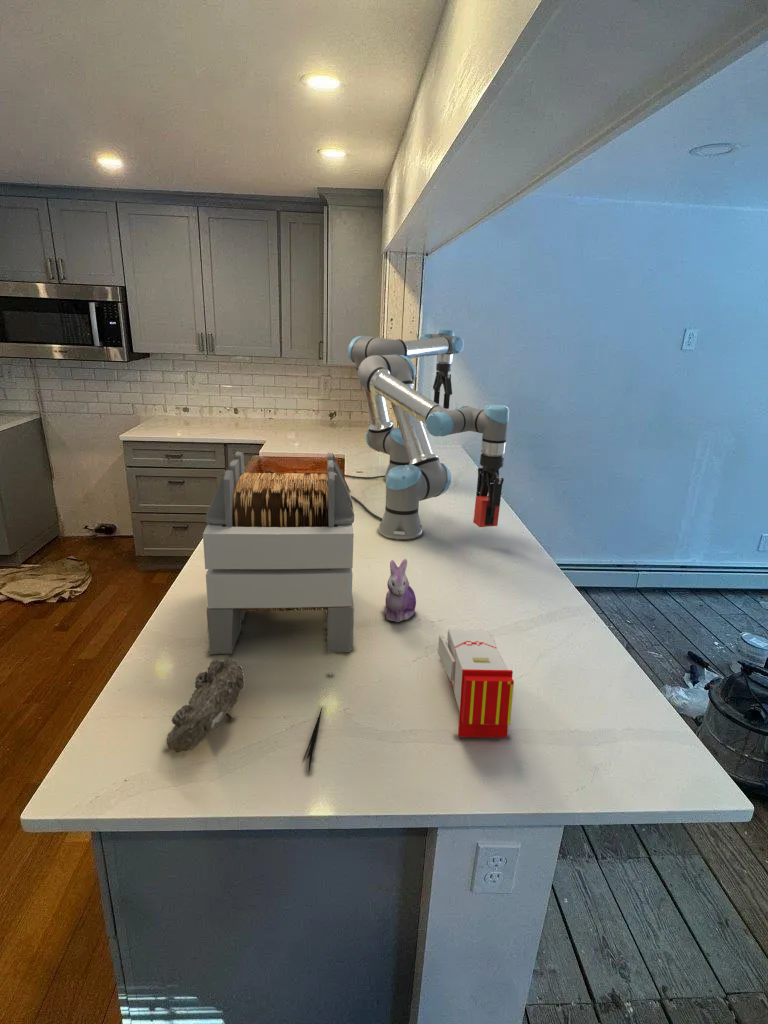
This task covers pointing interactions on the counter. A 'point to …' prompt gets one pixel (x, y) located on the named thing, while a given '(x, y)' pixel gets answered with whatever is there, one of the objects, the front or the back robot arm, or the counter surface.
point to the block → (483, 512)
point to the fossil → (206, 705)
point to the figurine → (399, 594)
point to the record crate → (279, 550)
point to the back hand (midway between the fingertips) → (441, 406)
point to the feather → (313, 740)
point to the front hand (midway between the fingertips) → (485, 521)
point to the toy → (478, 682)
